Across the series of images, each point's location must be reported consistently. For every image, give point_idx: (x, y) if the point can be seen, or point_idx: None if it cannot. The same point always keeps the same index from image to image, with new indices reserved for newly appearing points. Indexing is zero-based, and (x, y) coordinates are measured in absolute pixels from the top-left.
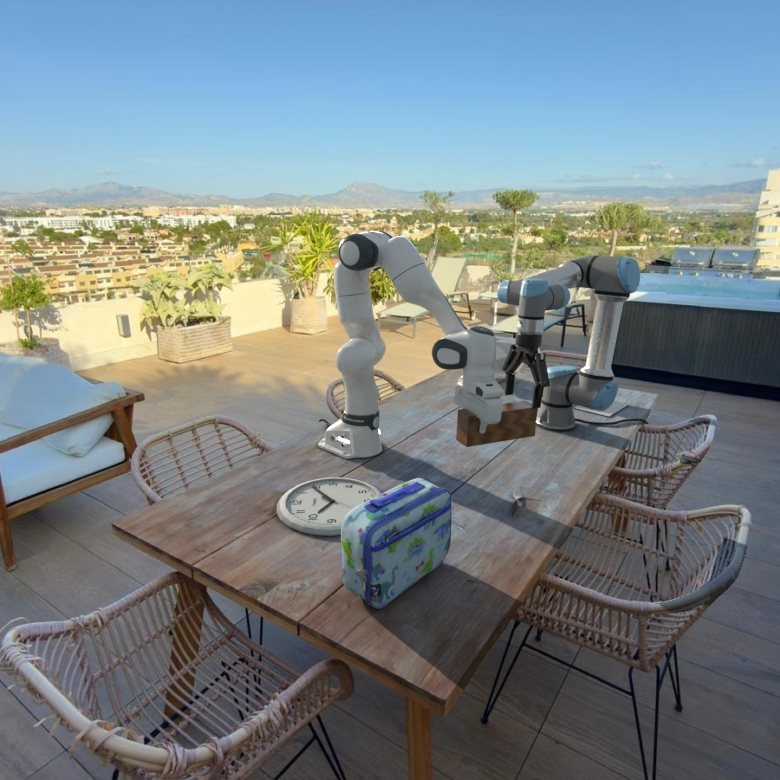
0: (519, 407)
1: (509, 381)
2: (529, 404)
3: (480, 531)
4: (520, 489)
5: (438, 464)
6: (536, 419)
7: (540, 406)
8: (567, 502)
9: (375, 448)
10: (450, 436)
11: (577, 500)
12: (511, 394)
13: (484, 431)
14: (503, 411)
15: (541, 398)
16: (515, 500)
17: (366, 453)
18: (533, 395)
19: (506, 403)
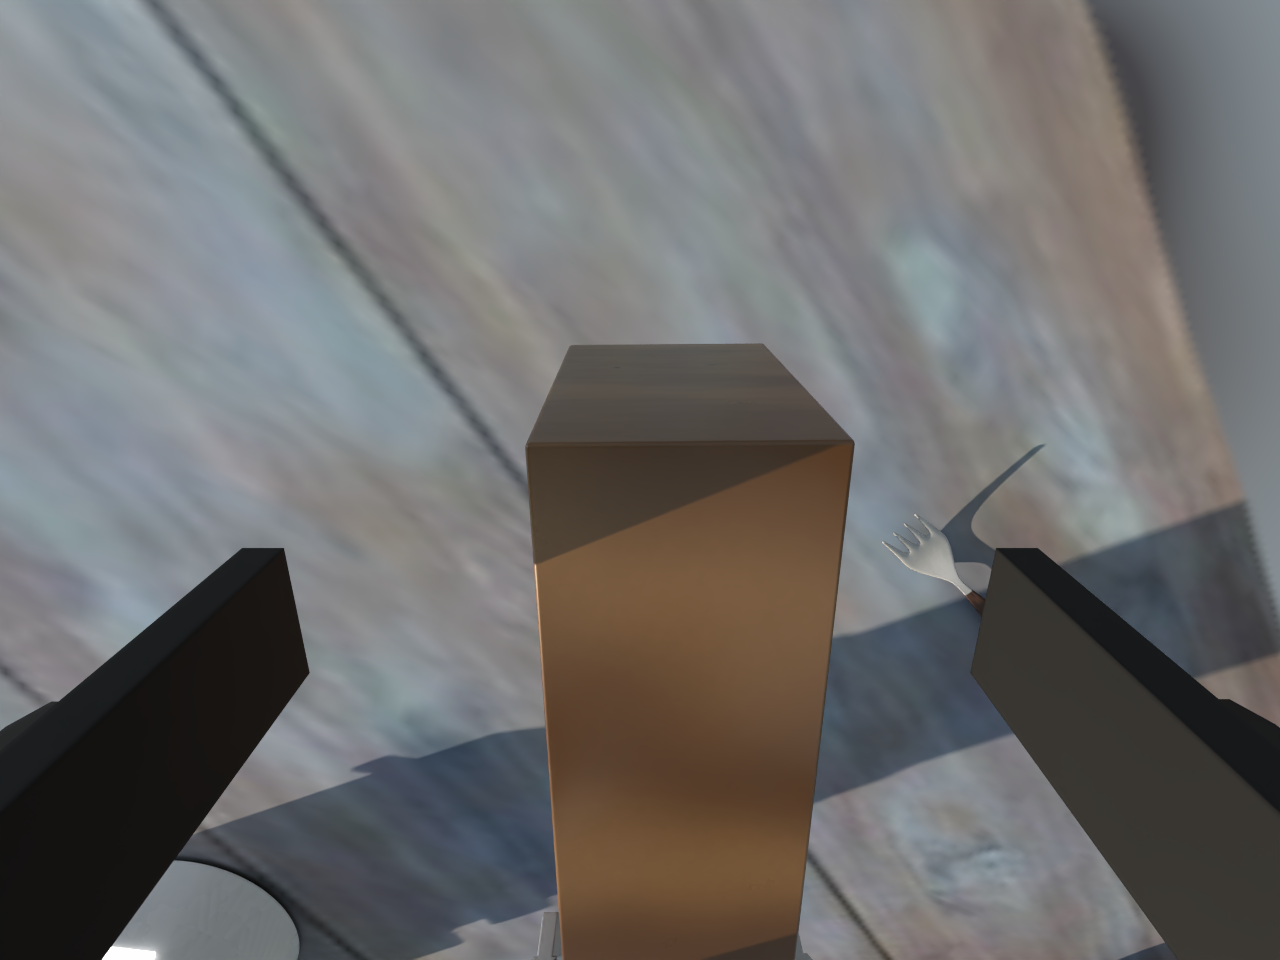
0: (762, 697)
1: (143, 838)
2: (713, 502)
3: (1049, 812)
4: (915, 532)
5: (452, 712)
6: (804, 389)
7: (1049, 562)
8: (1114, 343)
9: (257, 934)
10: (53, 481)
11: (1136, 270)
12: (289, 584)
13: None
14: (798, 912)
15: (1145, 643)
16: (971, 601)
17: (287, 956)
18: (1108, 839)
19: (558, 756)
